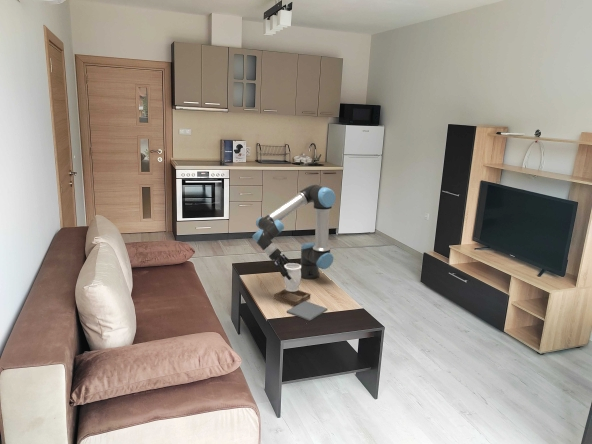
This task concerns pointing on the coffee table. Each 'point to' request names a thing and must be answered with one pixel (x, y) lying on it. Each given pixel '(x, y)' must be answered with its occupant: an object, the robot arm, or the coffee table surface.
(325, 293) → the coffee table surface
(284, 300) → the collar
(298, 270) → the jar
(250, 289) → the coffee table surface
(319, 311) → the board
